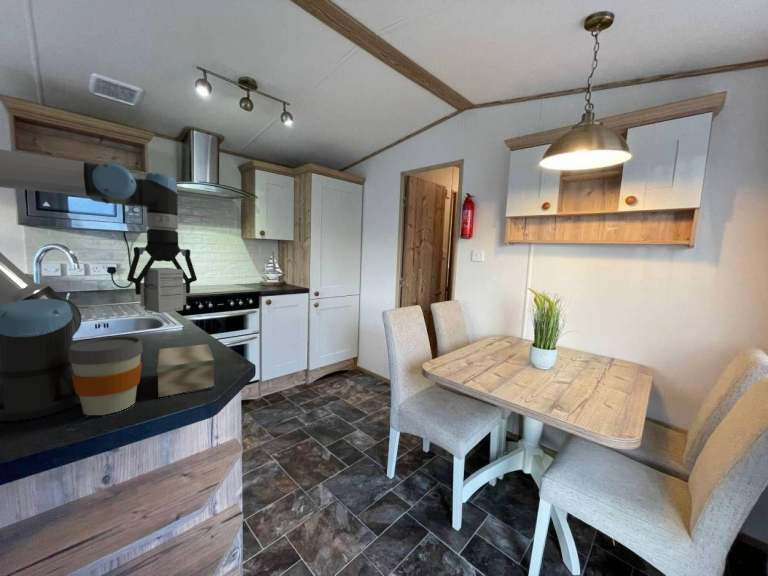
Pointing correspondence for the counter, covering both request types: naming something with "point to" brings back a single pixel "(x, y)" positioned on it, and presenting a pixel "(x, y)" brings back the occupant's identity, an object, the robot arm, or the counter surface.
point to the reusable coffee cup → (106, 373)
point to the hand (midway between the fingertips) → (164, 304)
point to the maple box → (184, 369)
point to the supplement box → (163, 290)
